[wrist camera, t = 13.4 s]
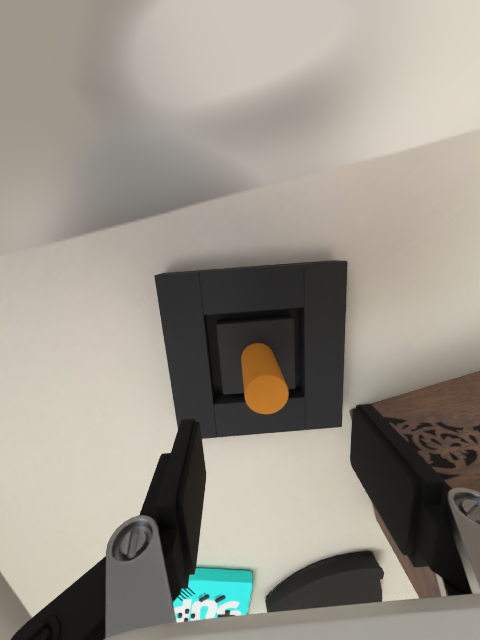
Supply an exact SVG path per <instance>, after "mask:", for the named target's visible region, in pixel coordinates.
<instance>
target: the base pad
mask: <svg viewBox="0 0 480 640" xmlns="http://www.w3.org/2000/svg"><path fill="white" fill-rule="evenodd" d="M155 282H156V289H157V295H158V302H159V308H160V315H161V321H162V328H163V334H164V341H165V347H166V354H167V360H168V367H169V373H170V380H171V386H172V393H173V399H174V406H175V412H176V419H177V426H178V429H179V425H180V422H181V420H182V419H195V422H199V423H200V430H201V438H202V439H203V438H215V437H227V436H239V435H251V434H263V433H275V432H287V431H299V430H310V429H322V428H334V427H342V403H343V373H344V344H345V315H346V285H347V261H336V260H333V261H320V262H306V263H293V264H279V265H266V266H252V267H239V268H225V269H212V270H198V271H185V272H171V273H162V274H158V275H155ZM278 315H291V316H292V317H293V318H294V335H295V389H288V390H289V396H288V400H287V402H286V404H285V405H284V407H283V408H281V409H280V410H279V411H277V412H275V413H272V414H260V413H257V412H255V411H253V410H252V409H251V408H250V407H249V406H248V405H247V403H246V401H245V395H244V393H237V394H225V395H224V394H223V388H222V378H221V368H220V357H219V347H218V337H217V327H216V325H217V320H226V319H239V318H252V317H265V316H278Z"/></svg>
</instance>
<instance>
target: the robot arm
mask: <svg viewBox="0 0 480 640" xmlns="http://www.w3.org/2000/svg"><path fill="white" fill-rule="evenodd" d="M350 461H351V465H352V468H353V469H354V471H355V473H356V475H357V476H358V478H359V480H360V482H361V483H362V485H363V487H364V489H365V491H366V492H367V494H368V496H369V498H370V499H371V501H372V503H373V505H374V506H375V508H376V510H377V512H378V513H379V515H380V517H381V519H382V520H383V522H384V524H385V526H386V527H387V529H388V531H389V533H390V534H391V536H392V538H393V540H394V541H395V543H396V545H397V547H398V548H399V550H400V552H401V553H402V554H403V555H407V556H408V558H409V560H410V561H411V563H412V565H413V566H414V568H416V567H427V566H429V568H430V570H431V571H433V572H434V573H436V578H437V582H438V586H439V590H440V594H441V597H432V598H420V599H409V600H397V601H386V602H375V603H364V604H354V605H343V606H332V607H322V608H311V609H300V610H290V611H280V612H270V613H260V614H250V615H240V616H231V617H221V618H211V619H203V620H195V621H187V622H179V623H177V622H176V616H175V611H174V606H173V602H174V601H175V600H176V599H177V597H178V596H179V595H180V594H181V589H187V588H188V583H189V575H194V574H195V570H196V562H197V554H198V545H199V536H200V527H201V518H202V510H203V501H204V492H205V483H206V469H205V461H204V453H203V445H202V438H201V430H200V423H199V422H195V419H182V420H181V422H180V425H179V429H178V432H177V435H176V438H175V442H174V445H173V448H172V452H171V453H166V454H162V455H161V457H160V459H159V462H158V464H157V467H156V470H155V473H154V476H153V479H152V481H151V484H150V487H149V490H148V493H147V496H146V498H145V501H144V504H143V507H142V510H141V512H140V515H139V516H136V517H133V518H130V519H129V520H127V521H126V522H124V523H123V524H122V525H121V526H119V527H118V528H117V529H116V531H115V532H114V533H113V535H112V536H111V538H110V540H109V542H108V545H107V550H106V557H104V558H103V559H102V560H101V561H100V562H98V563H97V564H96V565H95V566H94V567H92V568H91V569H90V570H89V571H88V572H86V573H85V574H84V575H83V576H82V577H80V578H79V579H78V580H77V581H76V582H75V583H73V584H72V585H71V586H70V587H69V588H67V589H66V590H65V591H64V592H63V593H61V594H60V595H59V596H58V597H57V598H55V599H54V600H53V601H52V602H51V603H49V604H48V605H47V606H46V607H45V608H43V609H42V610H41V611H40V612H39V613H37V614H36V615H35V616H34V617H33V618H31V619H30V620H29V621H28V622H27V623H26V624H25V625H24V626H23V627H22V628H21V629H20V630H18V632H16V634H15V635H14V636H13V637H12V639H11V640H480V493H479V492H477V491H474V490H471V489H467V488H453V489H452V488H451V487H450V486H449V485H448V484H447V483H446V482H445V481H444V480H443V479H442V478H441V476H440V475H439V474H438V473H437V472H436V471H435V470H434V469H433V468H432V467H431V466H430V465H429V464H428V463H427V462H426V461H425V460H424V459H423V457H422V456H421V455H420V454H419V453H418V452H417V451H416V450H415V449H414V448H413V447H412V446H411V445H410V444H409V443H408V442H407V441H406V439H405V438H404V437H402V436H401V435H400V434H399V433H398V432H397V431H396V430H395V429H394V428H393V427H392V426H391V425H390V423H389V422H388V421H387V420H386V419H385V418H384V417H383V416H382V415H381V414H380V413H379V412H378V411H377V410H376V409H375V408H374V406H373V405H371V404H364V405H357V406H356V409H353V411H352V432H351V454H350Z"/></svg>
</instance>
